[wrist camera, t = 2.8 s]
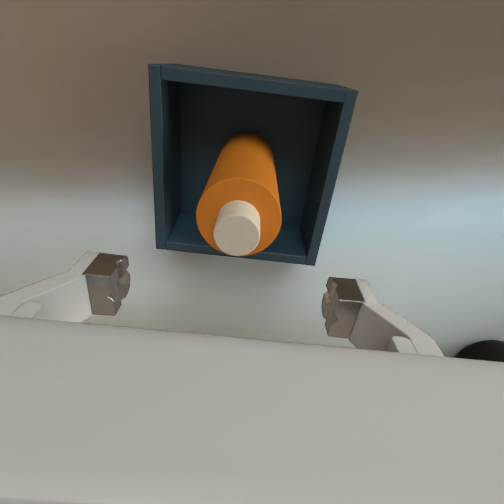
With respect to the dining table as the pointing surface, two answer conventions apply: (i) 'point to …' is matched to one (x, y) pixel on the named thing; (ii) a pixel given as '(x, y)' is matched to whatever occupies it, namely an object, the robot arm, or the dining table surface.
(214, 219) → the orange capped bottle
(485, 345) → the cola bottle
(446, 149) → the dining table surface
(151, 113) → the dark open tray box
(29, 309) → the robot arm
